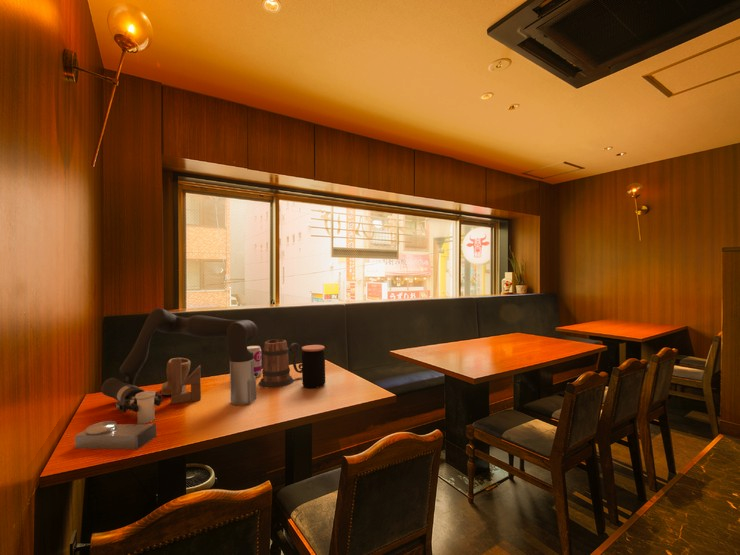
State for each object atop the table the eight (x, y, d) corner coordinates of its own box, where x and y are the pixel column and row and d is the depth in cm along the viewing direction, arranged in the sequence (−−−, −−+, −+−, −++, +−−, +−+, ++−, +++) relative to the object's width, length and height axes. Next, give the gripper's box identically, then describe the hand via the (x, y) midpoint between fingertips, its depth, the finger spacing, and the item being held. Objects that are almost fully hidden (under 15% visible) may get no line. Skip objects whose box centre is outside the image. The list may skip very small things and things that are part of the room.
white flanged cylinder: (159, 417, 129) (159, 390, 129) (148, 424, 123) (147, 396, 123) (144, 417, 130) (143, 390, 130) (132, 424, 124) (131, 396, 124)
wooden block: (200, 400, 147) (199, 357, 147) (171, 404, 143) (170, 360, 142) (201, 397, 150) (200, 355, 150) (172, 401, 146) (171, 358, 146)
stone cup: (191, 394, 155) (190, 360, 155) (159, 399, 150) (158, 363, 150) (191, 384, 169) (190, 353, 168) (162, 389, 163) (161, 356, 163)
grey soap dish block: (156, 436, 114) (155, 420, 114) (137, 449, 106) (137, 432, 106) (97, 436, 115) (97, 420, 115) (74, 448, 107) (74, 431, 107)
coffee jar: (330, 384, 166) (329, 346, 166) (315, 390, 157) (314, 350, 157) (312, 380, 172) (312, 343, 172) (297, 386, 163) (296, 348, 163)
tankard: (265, 390, 159) (264, 346, 158) (253, 381, 172) (252, 340, 172) (312, 380, 173) (311, 339, 173) (297, 372, 186) (296, 335, 186)
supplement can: (265, 374, 184) (264, 346, 183) (253, 379, 176) (253, 349, 176) (253, 373, 187) (252, 345, 187) (241, 377, 179) (240, 348, 179)
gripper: (108, 391, 130) (124, 401, 119) (151, 382, 141) (169, 390, 131) (109, 412, 130) (125, 423, 120) (152, 400, 141) (170, 410, 131)
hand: (148, 406), depth 125 cm, fingers open, 6 cm apart
